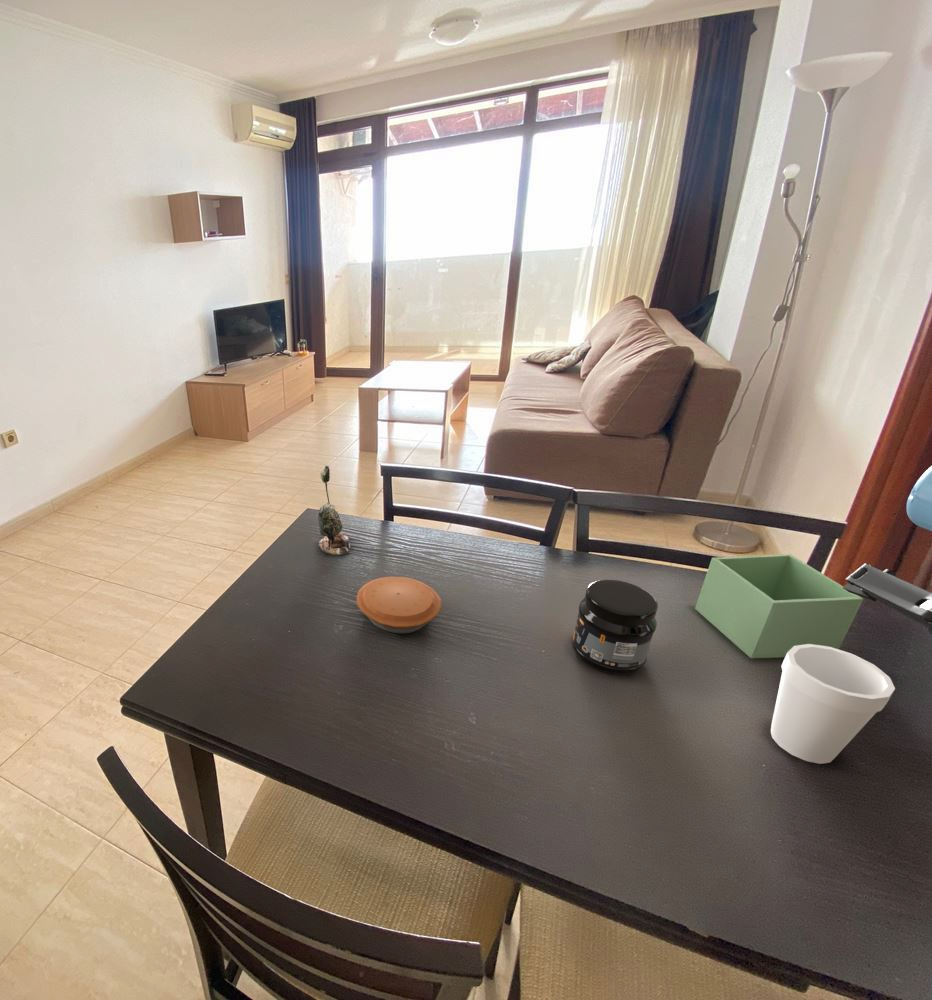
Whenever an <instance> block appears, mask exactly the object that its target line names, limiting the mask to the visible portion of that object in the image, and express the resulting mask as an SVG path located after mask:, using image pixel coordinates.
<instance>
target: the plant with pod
mask: <svg viewBox="0 0 932 1000" xmlns="http://www.w3.org/2000/svg"><path fill="white" fill-rule="evenodd" d="M330 471H331V470H330V467H329V465H324V467H323V468H322V470H321V471H320V479H321V481H322V482H323V483H324V485H325V492H326V497H327V498H326V499H327V503H325V504H323V505H321V506H320V508H317V511H318V517H317V521H318V522H317V523H318V526H319V534H320V535H321V536H322V538H321V539H320V540H319V542H318V543H317V545H318V546H319V547H320V549H321V550H322V552H323V553H324V554H327V555H333V556H336V555H337V556H338V555H341V556H342V555H345V554H347V553H348V552H349V551H350V548H351V546H352V545H351V542H350V538H349V536H347V535H346V534H344V533H343V532H342V530H343V529H344V526H343V519H342V518H341V514H340V512H339V511H338V510H337V508H336V506H335V505H334V504H331V503H330V498H329V492H328V483H329V482H330V479H331V477H330V476H331V473H330Z"/></svg>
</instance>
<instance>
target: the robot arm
mask: <svg viewBox="0 0 932 1000" xmlns="http://www.w3.org/2000/svg"><path fill="white" fill-rule="evenodd" d="M906 514H907V516H908V518H909V520H910V521H911V522H912V523H913V524H915V525H916V526H917V527H920V528H922V529H925V530H927V531H930V532H932V465H931V466H930V467H928V469H926V470H925V471H924V472H923V474H922V475H921V476H920V477H919V478H918V479H917V481H916V483H915V484H914V486H913V488H912V489H911V492H910V493H909V496H908V498H907V501H906ZM844 580H845V581H846V584H845V585H844V586H843V589H845V590H846V591H848V592H850V593H852V594H855V595H858V596H859V597H861V598H863V599H867V600H869V601H872V602H876V601H878V602H880V603H881V604H883V605H885V606H887V607H889V608H891V609H893V610H894V611H896V612H898V613H899V614H901V615H904V616H905V617H907V618H908V619H911V620H913V621H914V622H916V623H918V624H920V625H922V626H924V627H926V628H927V632H928V633H929V634H930V635H932V592H930V591H928V590H925V589H924V588H921V587H919V586H916V585H914V584H913V583H910V582H908V581H905V580H903V579H902V578H899V577H896V574H895V573H894V571H891V569H888V568H886V569H884V570H882V569H878V568H876V567H875V566H874V565H872V564H868V563H863V564H862V565H861V566H860V567H859V568H857V569H856V570H855V571H853V572H852V573H851V574H849V575H848V576H847V577H846V578H844Z"/></svg>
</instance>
